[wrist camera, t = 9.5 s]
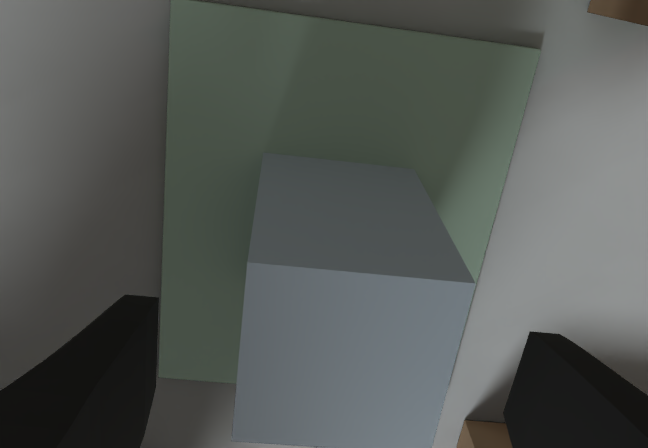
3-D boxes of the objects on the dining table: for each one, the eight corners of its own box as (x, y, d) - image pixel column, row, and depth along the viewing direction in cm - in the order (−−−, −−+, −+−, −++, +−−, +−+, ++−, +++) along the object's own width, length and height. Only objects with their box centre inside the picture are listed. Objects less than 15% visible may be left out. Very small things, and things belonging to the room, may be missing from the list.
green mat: (160, 371, 19) (158, 377, 19) (172, -3, 14) (170, -2, 14) (441, 394, 20) (443, 400, 19) (536, 48, 15) (541, 49, 15)
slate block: (250, 285, 17) (231, 441, 12) (263, 152, 16) (247, 262, 10) (388, 297, 18) (429, 454, 12) (414, 169, 16) (475, 283, 11)
